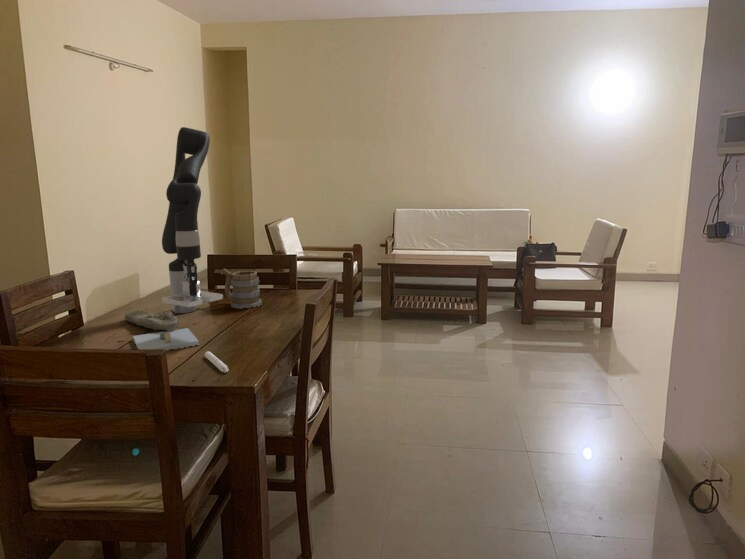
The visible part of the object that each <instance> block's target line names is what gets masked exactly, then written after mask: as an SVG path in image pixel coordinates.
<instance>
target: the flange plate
mask: <svg viewBox="0 0 745 559" xmlns="http://www.w3.org/2000/svg"><path fill="white" fill-rule="evenodd" d="M197 281H198V282H197V284H196V287H197V295H196V296H190V290H189V284H188V283H189V282H188V280H186V281H183V282H182V283H183V293H180V294H176V295H171V294H170V295H167V296H163V297H161V303H162V304H163V303H164V304H168V305H172V304H174V305H179V306H185V307H192V306H196V307H197V306H200V305H203V304H204V303H203V302H210V303H212V302H216V301H220V300H223V299H224V295H223V293H218V292H210V291H205V290H204V291H203V290H201V281H200V280H199V279H197Z"/></svg>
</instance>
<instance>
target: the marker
mask: <svg viewBox="0 0 745 559" xmlns="http://www.w3.org/2000/svg"><path fill="white" fill-rule="evenodd" d="M204 357H205V358H206V359H207V360H209V362H210V363H211V364H213V366H215V368H217V369H218V370H219V371H220V372H222V373H223V372H224V373H223V374H225V373H228V371H229V367H228V365H227V364H225V363H224V362H223V361H222V360H220V359H219V358H218V357H217V356H216V355H214V354H213V353H212V352H211V351H206V352H205V353H204Z"/></svg>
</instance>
